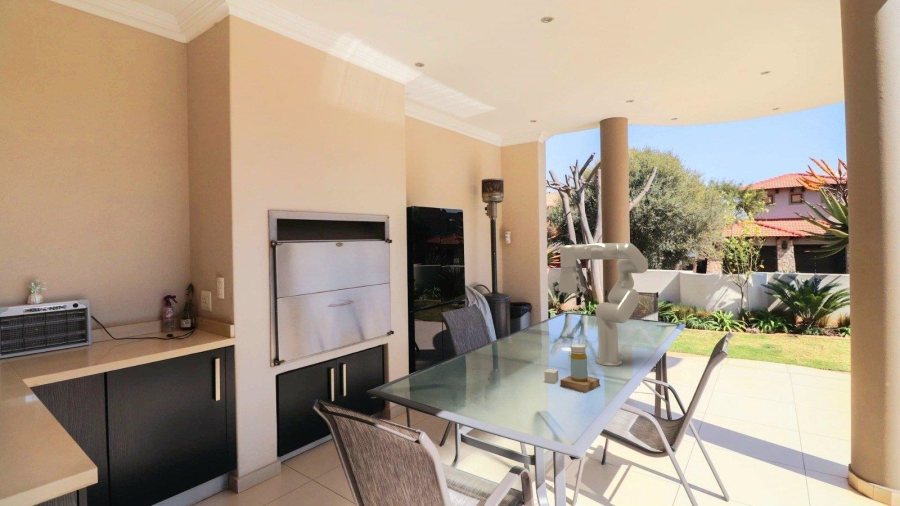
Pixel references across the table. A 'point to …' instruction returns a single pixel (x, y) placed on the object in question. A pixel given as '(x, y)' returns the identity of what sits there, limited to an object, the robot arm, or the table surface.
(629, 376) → the table surface
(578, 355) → the bottle
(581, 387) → the plinth
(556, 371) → the stone cube
